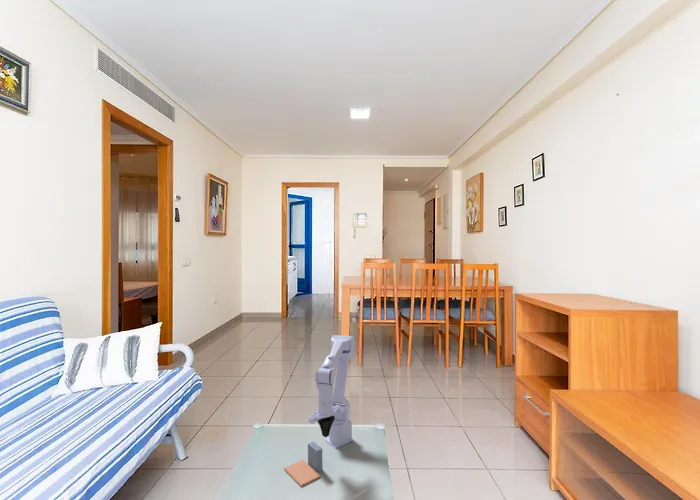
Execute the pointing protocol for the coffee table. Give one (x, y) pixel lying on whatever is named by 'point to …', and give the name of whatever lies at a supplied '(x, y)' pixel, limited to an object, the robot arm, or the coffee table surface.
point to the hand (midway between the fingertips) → (325, 435)
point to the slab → (315, 456)
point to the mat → (302, 473)
